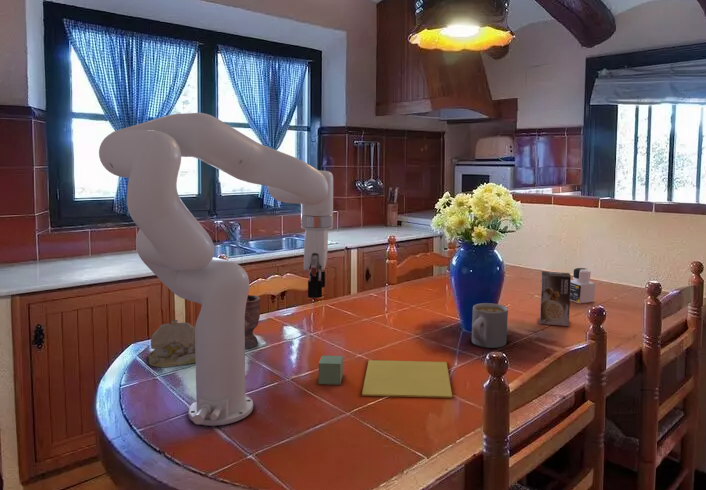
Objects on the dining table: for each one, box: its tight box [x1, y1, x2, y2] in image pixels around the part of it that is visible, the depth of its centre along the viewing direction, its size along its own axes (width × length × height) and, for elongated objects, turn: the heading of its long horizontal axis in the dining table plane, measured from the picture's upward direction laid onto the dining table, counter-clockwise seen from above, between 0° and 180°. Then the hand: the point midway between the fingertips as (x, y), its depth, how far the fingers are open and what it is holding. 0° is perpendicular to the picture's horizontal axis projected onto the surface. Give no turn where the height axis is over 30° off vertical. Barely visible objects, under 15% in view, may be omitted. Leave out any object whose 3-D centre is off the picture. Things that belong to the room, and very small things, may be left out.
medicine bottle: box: [570, 267, 596, 304], centre depth 207 cm, size 7×7×12 cm
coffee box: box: [539, 270, 572, 327], centre depth 179 cm, size 9×6×16 cm
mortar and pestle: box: [245, 294, 261, 350], centre depth 153 cm, size 12×9×20 cm
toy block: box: [318, 355, 344, 386], centre depth 131 cm, size 5×5×5 cm
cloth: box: [361, 359, 453, 399], centre depth 133 cm, size 20×20×1 cm
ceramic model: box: [147, 319, 196, 368], centre depth 141 cm, size 14×11×10 cm
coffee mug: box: [471, 302, 509, 349], centre depth 158 cm, size 13×10×10 cm
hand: (316, 292), depth 135 cm, fingers open, 9 cm apart
